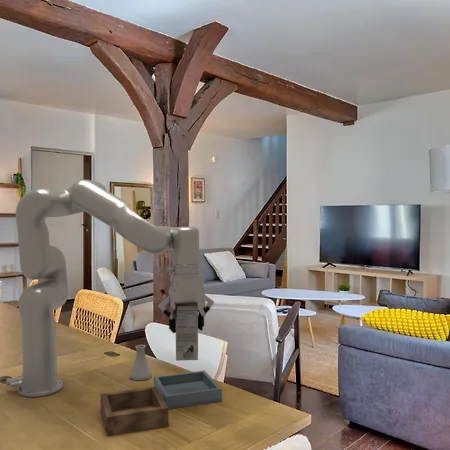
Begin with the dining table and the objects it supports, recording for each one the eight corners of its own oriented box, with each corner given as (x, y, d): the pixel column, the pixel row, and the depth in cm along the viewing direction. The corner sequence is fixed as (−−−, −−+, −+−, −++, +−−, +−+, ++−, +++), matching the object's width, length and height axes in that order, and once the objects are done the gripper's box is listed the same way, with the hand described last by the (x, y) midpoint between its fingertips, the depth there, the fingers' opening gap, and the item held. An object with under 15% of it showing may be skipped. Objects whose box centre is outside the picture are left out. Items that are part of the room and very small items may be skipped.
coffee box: (175, 351, 141) (175, 297, 140) (197, 350, 141) (197, 297, 141) (175, 361, 132) (174, 303, 131) (198, 360, 132) (198, 303, 132)
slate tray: (165, 409, 127) (165, 396, 127) (153, 388, 142) (153, 376, 142) (221, 401, 132) (221, 388, 132) (204, 381, 147) (204, 370, 147)
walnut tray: (106, 435, 112) (106, 417, 112) (100, 410, 126) (100, 393, 126) (168, 425, 117) (168, 407, 117) (156, 402, 131) (156, 386, 131)
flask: (147, 381, 147) (147, 350, 147) (125, 380, 149) (125, 348, 148) (155, 373, 154) (155, 343, 154) (134, 372, 156) (134, 342, 155)
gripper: (159, 272, 129) (159, 336, 130) (219, 269, 135) (219, 331, 136) (153, 269, 136) (154, 330, 137) (210, 266, 142) (211, 325, 143)
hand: (186, 330), depth 136 cm, fingers closed on coffee box, 7 cm apart
